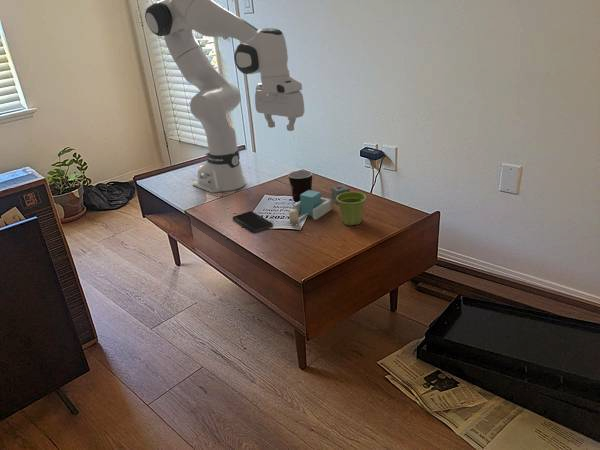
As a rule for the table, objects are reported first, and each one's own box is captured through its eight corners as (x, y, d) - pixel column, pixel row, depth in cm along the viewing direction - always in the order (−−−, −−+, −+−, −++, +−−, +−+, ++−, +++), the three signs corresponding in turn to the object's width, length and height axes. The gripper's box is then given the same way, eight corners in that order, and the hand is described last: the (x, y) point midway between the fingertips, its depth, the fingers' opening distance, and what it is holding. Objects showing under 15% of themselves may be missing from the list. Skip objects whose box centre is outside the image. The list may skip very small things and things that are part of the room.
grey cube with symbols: (331, 199, 176) (330, 186, 174) (344, 197, 178) (343, 184, 175) (337, 204, 172) (336, 191, 170) (350, 201, 173) (349, 188, 171)
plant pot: (358, 230, 152) (358, 204, 148) (332, 225, 157) (331, 200, 153) (371, 218, 159) (371, 194, 155) (345, 214, 164) (344, 190, 160)
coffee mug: (311, 205, 173) (310, 178, 168) (288, 204, 174) (285, 178, 170) (317, 192, 183) (315, 167, 179) (294, 192, 185) (292, 167, 180)
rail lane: (293, 214, 166) (292, 204, 165) (310, 204, 174) (309, 194, 172) (316, 219, 161) (315, 209, 160) (332, 208, 168) (332, 199, 167)
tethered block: (285, 223, 160) (283, 204, 157) (309, 208, 170) (308, 190, 167) (297, 226, 157) (296, 206, 154) (321, 211, 167) (320, 192, 164)
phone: (253, 231, 155) (231, 217, 166) (253, 234, 155) (231, 220, 167) (274, 224, 159) (251, 210, 170) (274, 227, 159) (251, 213, 170)
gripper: (247, 84, 156) (253, 127, 161) (290, 88, 142) (294, 134, 147) (263, 81, 159) (268, 123, 165) (305, 84, 145) (309, 130, 151)
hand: (281, 128), depth 156 cm, fingers open, 8 cm apart
